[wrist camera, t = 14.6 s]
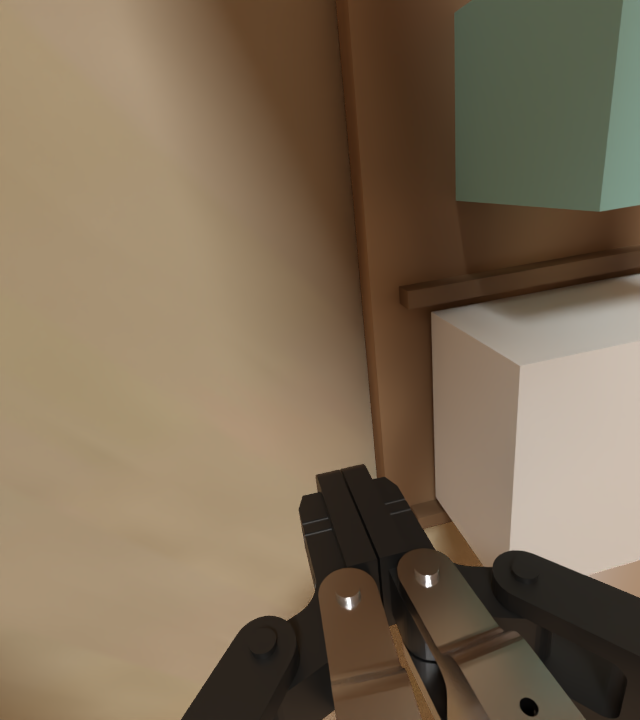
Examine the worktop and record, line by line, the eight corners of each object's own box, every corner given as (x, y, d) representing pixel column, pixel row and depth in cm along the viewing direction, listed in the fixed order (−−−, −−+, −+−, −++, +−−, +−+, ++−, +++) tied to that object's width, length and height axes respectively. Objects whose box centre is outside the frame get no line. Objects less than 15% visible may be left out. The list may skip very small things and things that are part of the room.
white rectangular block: (435, 497, 19) (506, 599, 14) (431, 311, 15) (520, 365, 11) (625, 449, 20) (746, 528, 15) (656, 269, 17) (820, 302, 12)
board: (379, 503, 20) (442, 629, 14) (333, -30, 13) (425, -203, 7) (702, 423, 22) (864, 504, 17) (821, -62, 15) (1182, -208, 9)
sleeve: (455, 200, 14) (599, 211, 9) (454, 13, 13) (636, -118, 7) (592, 179, 15) (801, 177, 10) (611, -2, 13) (886, -130, 8)
